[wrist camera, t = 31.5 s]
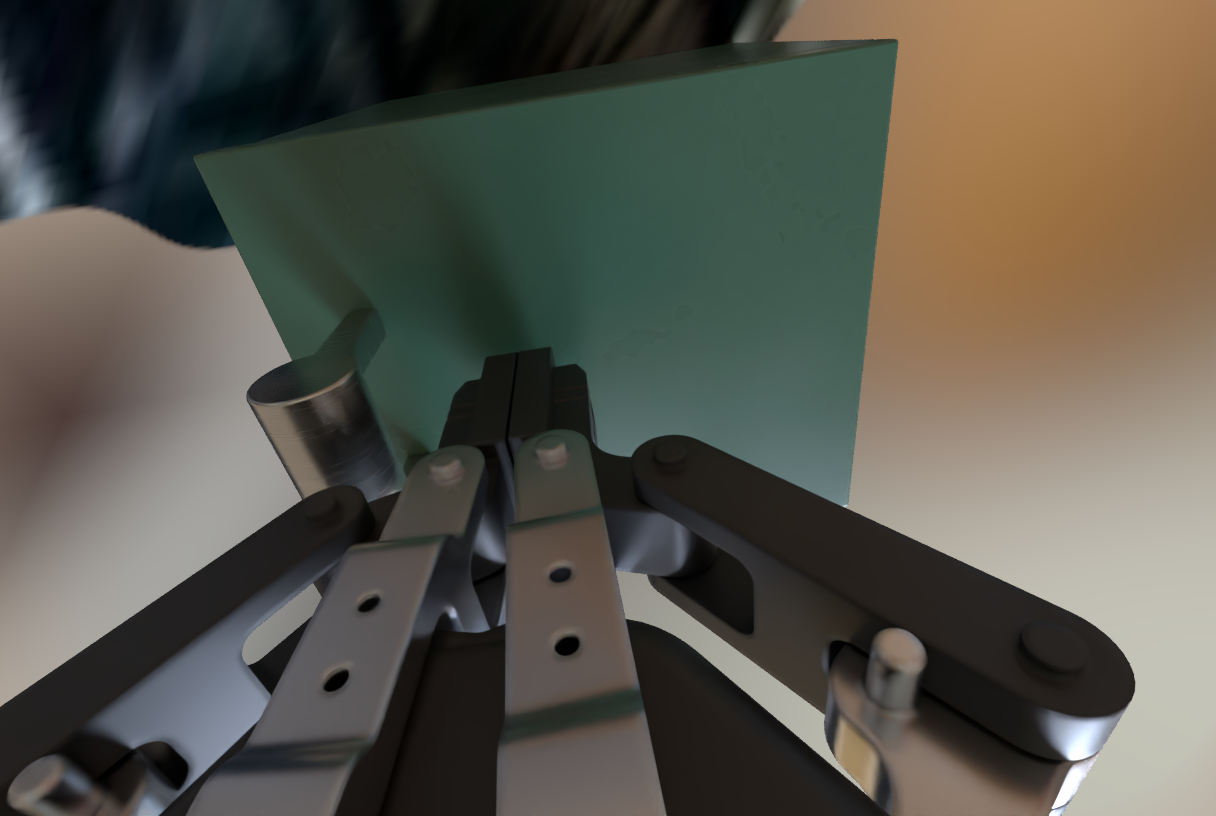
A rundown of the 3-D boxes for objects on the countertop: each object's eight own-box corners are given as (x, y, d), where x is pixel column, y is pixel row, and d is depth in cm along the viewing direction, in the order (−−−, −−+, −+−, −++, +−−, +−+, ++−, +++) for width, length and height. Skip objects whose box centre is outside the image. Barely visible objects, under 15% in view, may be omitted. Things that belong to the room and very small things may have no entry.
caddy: (472, 380, 27) (428, 552, 18) (386, 100, 21) (251, 143, 12) (741, 337, 27) (837, 487, 18) (735, 42, 21) (878, 38, 11)
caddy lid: (402, 555, 18) (353, 715, 14) (211, 150, 12) (10, 208, 7) (838, 488, 18) (926, 629, 13) (879, 38, 11) (1069, 33, 7)
